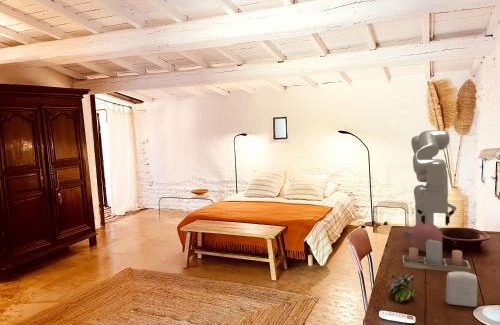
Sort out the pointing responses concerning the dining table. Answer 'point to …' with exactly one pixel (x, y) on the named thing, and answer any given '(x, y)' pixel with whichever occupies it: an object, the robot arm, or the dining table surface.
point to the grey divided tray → (455, 263)
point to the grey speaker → (461, 289)
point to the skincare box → (434, 252)
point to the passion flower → (405, 291)
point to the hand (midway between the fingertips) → (435, 224)
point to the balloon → (422, 235)
